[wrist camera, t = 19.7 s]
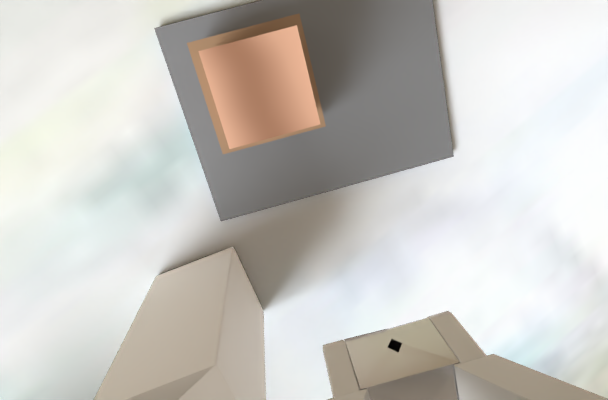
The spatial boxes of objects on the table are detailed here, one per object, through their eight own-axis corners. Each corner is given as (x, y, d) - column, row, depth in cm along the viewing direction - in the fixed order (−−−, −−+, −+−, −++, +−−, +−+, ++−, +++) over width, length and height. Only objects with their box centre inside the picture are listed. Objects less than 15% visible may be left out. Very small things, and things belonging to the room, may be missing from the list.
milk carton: (233, 244, 34) (207, 432, 16) (264, 311, 36) (271, 540, 18) (155, 274, 34) (43, 495, 16) (191, 339, 36) (127, 595, 18)
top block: (289, 35, 24) (296, 25, 20) (308, 115, 26) (320, 124, 21) (209, 56, 24) (198, 51, 20) (234, 136, 26) (229, 149, 21)
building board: (422, -40, 29) (460, -67, 24) (449, 154, 34) (486, 169, 28) (157, 29, 29) (133, 18, 23) (221, 218, 33) (214, 245, 28)
